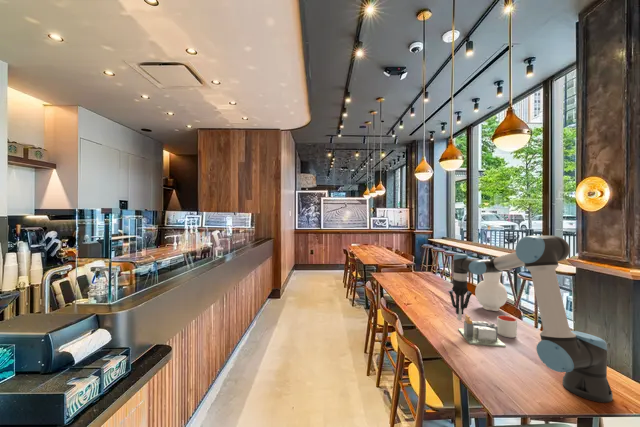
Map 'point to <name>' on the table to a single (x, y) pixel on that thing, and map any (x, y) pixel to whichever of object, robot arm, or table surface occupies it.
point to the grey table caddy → (481, 334)
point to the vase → (491, 292)
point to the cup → (507, 326)
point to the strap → (483, 325)
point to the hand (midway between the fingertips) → (459, 319)
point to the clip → (468, 319)
